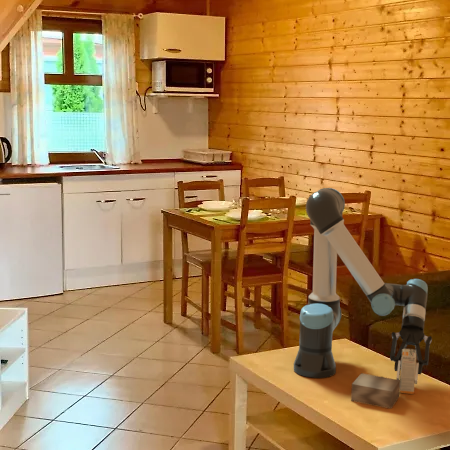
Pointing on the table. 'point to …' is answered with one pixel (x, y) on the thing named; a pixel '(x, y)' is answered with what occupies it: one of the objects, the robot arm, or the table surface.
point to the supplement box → (408, 371)
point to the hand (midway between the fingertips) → (406, 380)
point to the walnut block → (375, 390)
